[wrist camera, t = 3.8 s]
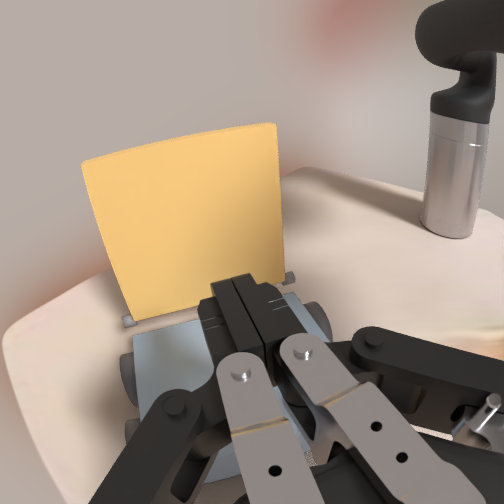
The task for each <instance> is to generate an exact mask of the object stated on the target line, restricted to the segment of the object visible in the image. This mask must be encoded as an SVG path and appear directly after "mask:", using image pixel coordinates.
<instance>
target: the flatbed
mask: <svg viewBox="0 0 504 504" xmlns="http://www.w3.org/2000/svg"><path fill="white" fill-rule="evenodd" d="M282 296H283V299H285V300H286V302H287V303H288V306H290V308H291V309H292V311H293V312H294V314H295V315H296V316H297V318H298V319H299V321H300V322H301V324H302V325H303V327H304V328H305V329H306V331H307V332H308V333H309V334H313V335H315V336H317V337H319V338H320V339H321V340H322V341H323V342H333V338H332V331H331V326H330V323H329V320H328V318H327V316H326V314H325V312H324V310H323V309H322V307H321V306H320V305H319V304H318V303H316V302H310V303H307V304H304V305H303V304H302V303H301V301H300V300H299V298H298V297H297V296H296V294H295V293H294V292H291V293H287V294H284V295H282ZM133 351H134V352H132V353H128V354H123V355H121V357H120V371H121V376H122V380H123V384H124V387H125V390H126V392H127V394H128V397H129V399H130V400H131V402H132V403H133V405H134V406H136V407H139V413H140V418H138V419H133V420H128V421H127V422H126V424H125V439H126V444H127V443H128V441H129V440H130V438H131V437H132V435H133V434H134V432H135V431H136V429H137V428H138V426H139V424H140V423H141V421H142V420H143V418H144V417H145V415H146V414H147V412H148V411H149V409H150V407H151V406H152V404H153V403H154V401H155V400H156V399H157V398H158V397H159V396H160V395H161V394H162V393H164V392H166V391H169V390H172V389H185V390H188V391H191V392H192V391H194V390H196V389H198V388H199V387H201V386H202V385H204V384H205V383H206V382H207V381H208V380H209V379H210V378H211V376H212V374H213V371H214V365H213V362H212V359H211V356H210V353H209V350H208V347H207V344H206V341H205V337H204V334H203V330H202V326H201V322H200V319H196V320H192V321H189V322H185V323H181V324H177V325H173V326H169V327H165V328H162V329H158V330H154V331H149V332H145V333H141V334H137V335H133ZM273 389H274V392H275V394H276V397H277V399H278V402H279V404H280V407H281V410H282V412H283V414H284V416H285V418H288V419H289V421H290V422H291V424H292V427H293V429H294V431H295V434H296V436H297V439H298V441H299V443H300V446H301V448H302V451H303V453H305V452H307V451H310V450H311V449H310V447H309V445H308V443H307V442H306V440H305V439H304V437H303V435H302V434H301V432H300V431H299V429H298V428H297V426H296V425H295V423H294V421H293V420H292V418H291V417H290V415H289V414H288V412H287V410H286V409H285V407H284V405H283V403H282V394H281V392H280V390H279V388H278V386H276V387H273ZM237 475H241V471H240V468H239V464H238V460H237V457H236V453H235V450H234V446H233V442H231V443H230V444H228V445H227V446H225V447H224V448H222V449H221V450H219V452H218V455H217V457H216V459H215V461H214V463H213V465H212V467H211V469H210V471H209V473H208V475H207V477H206V479H205V481H204V483H203V484H206V483H211V482H215V481H219V480H223V479H226V478H230V477H234V476H237Z"/></svg>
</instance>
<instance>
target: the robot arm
mask: <svg viewBox="0 0 504 504" xmlns="http://www.w3.org/2000/svg"><path fill="white" fill-rule="evenodd" d="M415 39H416V44H417V46H418V49H419V51H420V52H421V54H422V55H423V56H424V58H426V59H427V60H428V61H429V62H431V63H432V64H434V65H437V66H440V67H443V68H448V69H453V70H458V71H460V77H459V81H458V83H457V84H456V85H454V86H453V87H451V88H449V89H446V90H442V91H438V92H435V93H433V94H432V96H431V103H430V110H431V111H430V134H429V149H428V161H427V172H426V181H425V189H424V197H423V204H422V211H421V217H420V220H421V222H422V224H423V225H424V226H425V227H426V228H427V229H429V230H430V231H432V232H434V233H437V234H439V235H442V236H445V237H450V238H465V237H468V236H470V235H471V234H472V231H473V226H474V222H475V218H476V213H477V209H478V204H479V199H480V193H481V188H482V182H483V175H484V169H485V161H486V154H487V144H488V134H489V121H490V113H491V110H492V108H493V105H494V100H495V87H496V62H497V59H496V58H497V57H496V52H497V53H503V54H504V0H444V1H441V2H439V3H436V4H434V5H431V6H429V7H428V8H427V9H426V10H424V11H423V13H422V14H421V15H420V17H419V19H418V21H417V24H416V30H415ZM210 287H211V292H212V296H213V297H210V298H206V299H202V300H200V303H199V306H198V310H197V311H198V315H199V319H200V322H201V326H202V330H203V334H204V337H205V341H206V344H207V347H208V350H209V353H210V356H211V359H212V362H213V365H214V371H213V374H212V376H211V378H210V379H209V380H208V381H207V382H206V383H205V384H204V385H202V386H201V387H199V388H198V389H196V390H194V391H192V392H191V391H188V390H185V389H172V390H169V391H166V392H164V393H162V394H161V395H160V396H159V397H158V398H157V399H156V400H155V401H154V403H153V404H152V406H151V407H150V409H149V411H148V412H147V414H146V415H145V417H144V418H143V420H142V421H141V423H140V424H139V426H138V428H137V429H136V431H135V432H134V434H133V435H132V437H131V438H130V440H129V441H128V443H127V445H126V446H125V448H124V449H123V451H122V452H121V454H120V455H119V457H118V458H117V460H116V462H115V463H114V465H113V466H112V468H111V469H110V471H109V472H108V474H107V476H106V477H105V479H104V480H103V482H102V483H101V485H100V486H99V488H98V489H97V491H96V493H95V494H94V496H93V497H92V499H91V500H90V502H89V503H88V504H193V503H194V501H195V499H196V497H197V495H198V493H199V491H200V489H201V487H202V485H203V483H204V481H205V479H206V477H207V475H208V473H209V471H210V469H211V467H212V465H213V463H214V461H215V459H216V457H217V455H218V452H219V450H221V449H222V448H224V447H225V446H227V445H228V444H230V443H231V442H233V446H234V450H235V453H236V457H237V460H238V464H239V468H240V471H241V475H242V478H243V481H244V485H245V488H246V492H247V493H246V494H244V495H243V496H242V497H240V498H239V499H238V500H237V501H236V502H235V503H234V504H504V361H502V360H498V359H494V358H490V357H486V356H482V355H478V354H474V353H471V352H467V351H463V350H459V349H455V348H452V347H448V346H444V345H440V344H437V343H433V342H429V341H426V340H422V339H418V338H415V337H411V336H408V335H404V334H401V333H397V332H394V331H390V330H387V329H383V328H380V327H374V326H370V327H364V328H361V329H359V330H358V331H357V332H356V333H355V334H354V335H353V338H352V340H351V341H342V342H323V341H322V340H321V339H320V338H319V337H317V336H315V335H313V334H309V333H308V332H307V331H306V329H305V328H304V327H303V325H302V324H301V322H300V321H299V319H298V318H297V316H296V315H295V314H294V312H293V311H292V309H291V308H290V306H288V303H287V302H286V300H285V299H283V296H282V295H281V293H280V292H279V290H278V289H277V288H276V287H274V286H273V285H271V284H269V283H268V282H264V283H261V284H257V283H256V282H255V280H254V279H253V277H252V275H251V274H250V273H246V274H242V275H239V276H235V277H231V278H228V279H224V280H220V281H216V282H212V283H210ZM276 386H278V388H279V390H280V392H281V394H282V403H283V405H284V407H285V409H286V410H287V412H288V414H289V415H290V417H291V418H292V420H293V421H294V423H295V425H296V426H297V428H298V429H299V431H300V432H301V434H302V435H303V437H304V439H305V440H306V442H307V443H308V445H309V447H310V449H311V453H312V456H313V459H314V461H315V463H316V464H317V466H312V467H309V465H308V463H307V460H306V458H305V456H304V453H303V451H302V448H301V446H300V443H299V441H298V439H297V436H296V434H295V431H294V429H293V427H292V424H291V422H290V421H289V419H288V418H285V416H284V414H283V412H282V410H281V407H280V404H279V402H278V399H277V397H276V394H275V392H274V389H273V387H276ZM410 424H412V425H415V426H419V427H423V428H426V429H430V430H434V431H438V432H442V433H446V434H450V435H452V437H453V440H452V441H449V440H446V439H442V438H439V437H435V436H432V435H429V434H425V433H422V432H417V431H415V429H414V428H413V427H412V426H411V425H410Z"/></svg>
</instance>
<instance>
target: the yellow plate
mask: <svg viewBox="0 0 504 504" xmlns="http://www.w3.org/2000/svg"><path fill="white" fill-rule="evenodd" d="M278 159H279V158H278V144H277V130H276V124H273V123H270V122H269V123H261V124H253V125H246V126H239V127H232V128H226V129H220V130H214V131H208V132H203V133H197V134H192V135H187V136H182V137H177V138H172V139H168V140H163V141H159V142H154V143H150V144H146V145H142V146H138V147H134V148H130V149H126V150H122V151H118V152H115V153H111V154H107V155H104V156H100V157H97V158H93V159H90V160H87V161H84V162H83V163H82V165H81V168H82V172H83V176H84V179H85V182H86V187H87V190H88V194H89V197H90V201H91V204H92V208H93V211H94V214H95V217H96V221H97V224H98V227H99V230H100V233H101V236H102V239H103V242H104V245H105V248H106V251H107V253H108V256H109V259H110V262H111V264H112V267H113V270H114V273H115V275H116V278H117V280H118V283H119V286H120V288H121V291H122V293H123V296H124V298H125V301H126V303H127V305H128V308H129V310H130V313H131V314H130V315H126V316H122V320H123V324H124V326H125V328H128V327H132V326H136V325H137V321H139V320H143V319H147V318H151V317H155V316H159V315H162V314H166V313H170V312H174V311H178V310H182V309H186V308H190V307H193V306H197V305H199V303H200V300H202V299H206V298H210V297H213V296H212V292H211V287H210V283H212V282H216V281H220V280H224V279H228V278H231V277H235V276H239V275H242V274H246V273H250V274H251V275H252V277H253V279H254V280H255V282H256V283H257V284H261V283H264V282H268V283H269V284H271V285H273V284H276V283H280V282H282V284H283V285H287V284H291V283H294V282H295V276H294V273H293V272H292V271H291V272H288V273H285V268H284V246H283V225H282V207H281V189H280V174H279V160H278Z"/></svg>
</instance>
